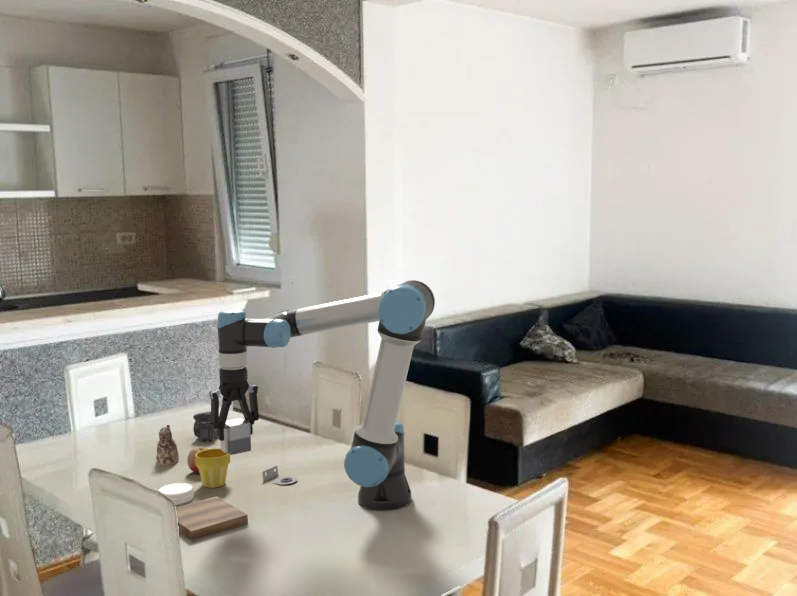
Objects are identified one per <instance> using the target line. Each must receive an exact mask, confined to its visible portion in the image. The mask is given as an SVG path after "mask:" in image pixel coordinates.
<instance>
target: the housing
mask: <svg viewBox="0 0 797 596" xmlns="http://www.w3.org/2000/svg"><path fill="white" fill-rule="evenodd" d="M225 428H226V429H227V435H228V454H230V456H233V455H237V454H238V455H239V454H241V453H242V454H243V453H248V452H251V451H252V441H251V440H252V435H251V432H250V422H248V421H246V420H245V418H242V417H237V418H232V419H227V420H226V424H225Z"/></svg>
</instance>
